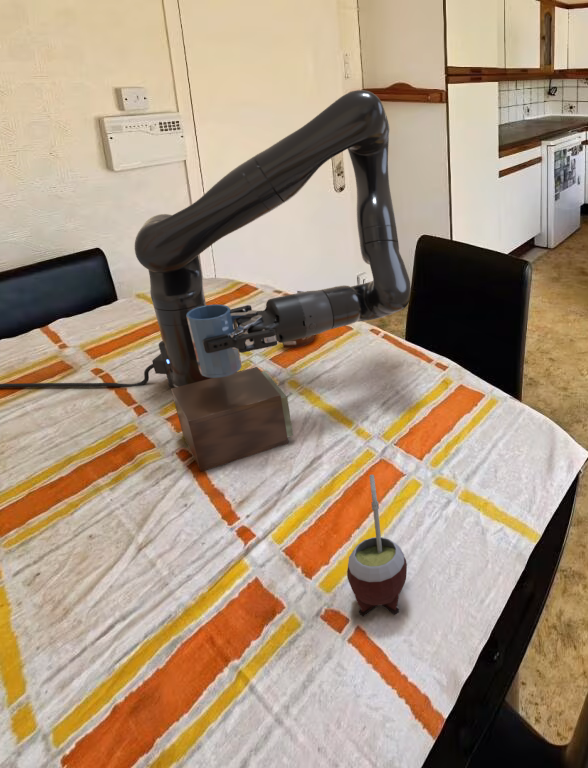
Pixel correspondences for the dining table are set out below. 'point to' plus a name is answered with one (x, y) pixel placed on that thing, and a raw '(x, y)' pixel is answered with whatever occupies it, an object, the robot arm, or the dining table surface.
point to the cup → (211, 324)
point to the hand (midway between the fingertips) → (198, 338)
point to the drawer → (284, 405)
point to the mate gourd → (377, 569)
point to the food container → (298, 340)
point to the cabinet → (230, 417)
